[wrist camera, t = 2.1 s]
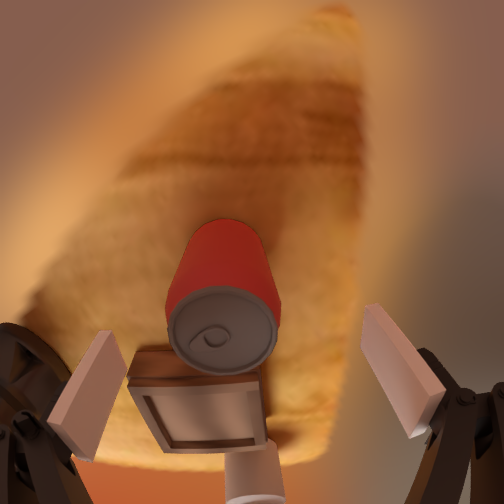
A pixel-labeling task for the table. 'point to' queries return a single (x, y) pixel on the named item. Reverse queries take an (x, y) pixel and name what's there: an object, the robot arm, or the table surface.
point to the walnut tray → (197, 405)
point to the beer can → (223, 301)
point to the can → (254, 477)
